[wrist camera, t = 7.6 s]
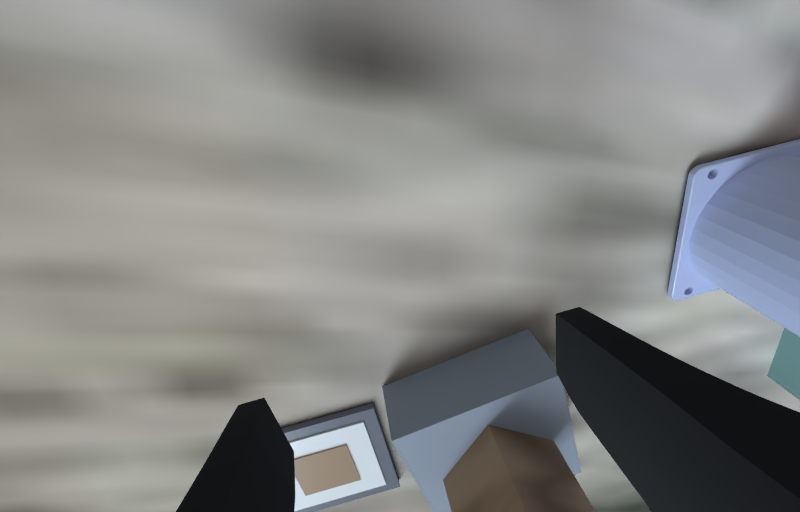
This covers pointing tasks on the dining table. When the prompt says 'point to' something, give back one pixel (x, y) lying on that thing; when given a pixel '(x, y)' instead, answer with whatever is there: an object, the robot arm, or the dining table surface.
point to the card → (340, 459)
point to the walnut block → (513, 476)
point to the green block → (787, 363)
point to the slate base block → (476, 408)
